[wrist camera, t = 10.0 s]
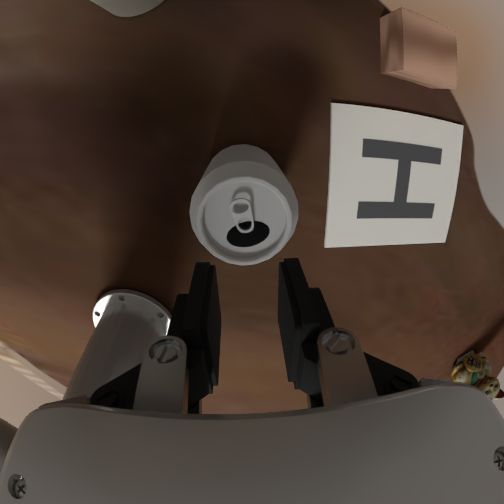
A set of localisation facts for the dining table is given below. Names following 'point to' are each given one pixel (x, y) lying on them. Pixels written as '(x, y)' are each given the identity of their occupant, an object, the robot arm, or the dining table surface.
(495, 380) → the decorative figurine
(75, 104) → the dining table surface
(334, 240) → the letter card
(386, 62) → the brown block
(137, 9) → the travel mug
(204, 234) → the can
